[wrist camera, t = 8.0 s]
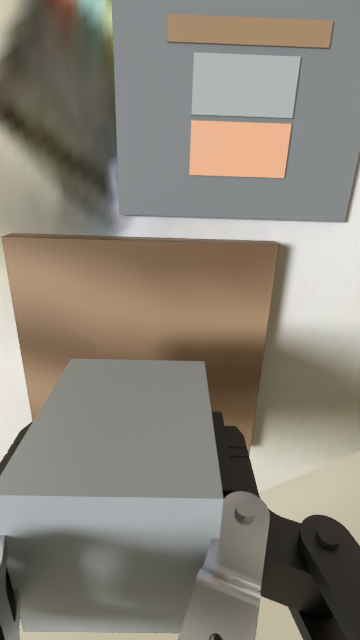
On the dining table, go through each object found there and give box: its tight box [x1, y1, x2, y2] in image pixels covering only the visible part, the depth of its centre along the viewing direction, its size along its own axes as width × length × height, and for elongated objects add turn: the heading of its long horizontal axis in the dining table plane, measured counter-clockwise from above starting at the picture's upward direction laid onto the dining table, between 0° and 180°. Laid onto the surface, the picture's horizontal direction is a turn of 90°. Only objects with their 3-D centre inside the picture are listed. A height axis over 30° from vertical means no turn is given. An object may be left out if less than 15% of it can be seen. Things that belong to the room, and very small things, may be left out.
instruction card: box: [112, 0, 360, 222], centre depth 14 cm, size 8×10×1 cm
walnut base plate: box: [1, 233, 279, 454], centre depth 18 cm, size 12×12×1 cm
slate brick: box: [0, 359, 223, 633], centre depth 11 cm, size 5×5×6 cm
